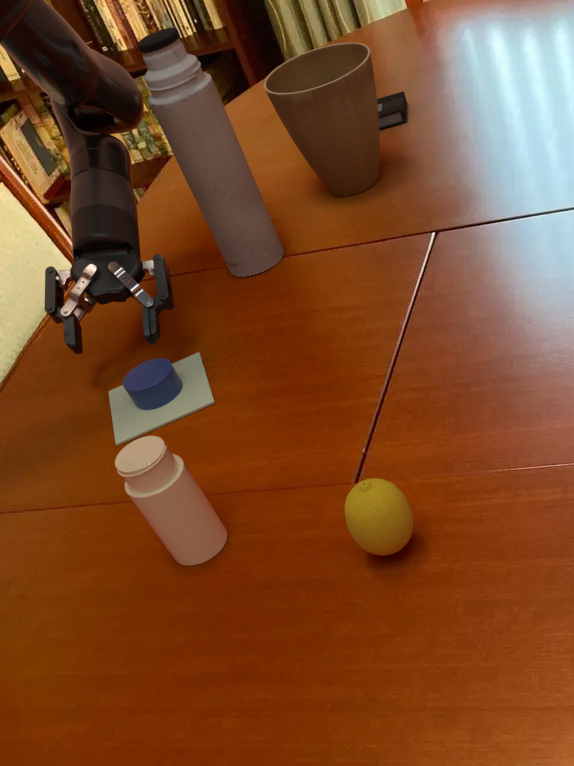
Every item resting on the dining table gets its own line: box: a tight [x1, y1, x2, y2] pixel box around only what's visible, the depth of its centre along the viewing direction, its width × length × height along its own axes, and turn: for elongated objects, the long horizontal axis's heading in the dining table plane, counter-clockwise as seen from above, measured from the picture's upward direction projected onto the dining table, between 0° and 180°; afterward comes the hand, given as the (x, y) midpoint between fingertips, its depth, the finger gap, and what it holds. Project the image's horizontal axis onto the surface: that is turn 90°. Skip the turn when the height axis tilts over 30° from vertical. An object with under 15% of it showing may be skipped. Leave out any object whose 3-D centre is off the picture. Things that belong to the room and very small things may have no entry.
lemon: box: [344, 477, 414, 556], centre depth 74 cm, size 6×6×8 cm
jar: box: [114, 435, 228, 567], centre depth 80 cm, size 6×6×12 cm
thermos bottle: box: [136, 27, 285, 278], centre depth 110 cm, size 8×8×28 cm
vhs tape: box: [377, 91, 408, 131], centre depth 141 cm, size 8×14×2 cm, turn 91°
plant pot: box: [262, 41, 380, 197], centre depth 122 cm, size 15×15×16 cm
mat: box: [108, 351, 216, 447], centre depth 103 cm, size 12×12×1 cm
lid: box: [122, 357, 183, 410], centre depth 103 cm, size 6×6×3 cm
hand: (113, 346), depth 102 cm, fingers open, 8 cm apart
